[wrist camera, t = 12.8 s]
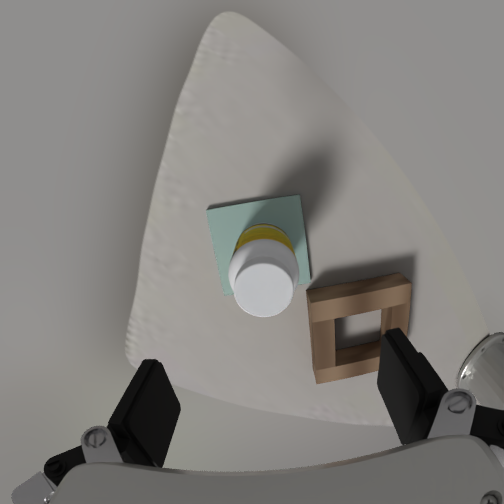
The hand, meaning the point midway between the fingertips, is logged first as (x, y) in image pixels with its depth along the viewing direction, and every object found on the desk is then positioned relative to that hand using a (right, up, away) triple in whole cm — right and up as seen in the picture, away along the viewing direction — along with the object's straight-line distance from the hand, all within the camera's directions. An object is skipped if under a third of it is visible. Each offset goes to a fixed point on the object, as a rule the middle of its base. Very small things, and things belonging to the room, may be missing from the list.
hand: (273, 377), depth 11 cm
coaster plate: (0, +6, +18) cm, 19 cm away
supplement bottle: (0, +5, +17) cm, 18 cm away
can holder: (+11, -3, +20) cm, 23 cm away
